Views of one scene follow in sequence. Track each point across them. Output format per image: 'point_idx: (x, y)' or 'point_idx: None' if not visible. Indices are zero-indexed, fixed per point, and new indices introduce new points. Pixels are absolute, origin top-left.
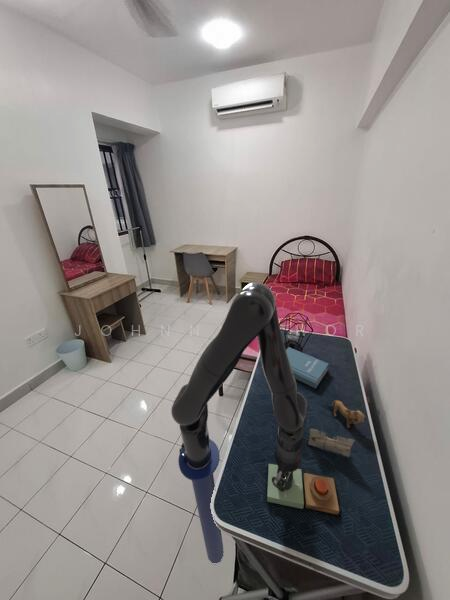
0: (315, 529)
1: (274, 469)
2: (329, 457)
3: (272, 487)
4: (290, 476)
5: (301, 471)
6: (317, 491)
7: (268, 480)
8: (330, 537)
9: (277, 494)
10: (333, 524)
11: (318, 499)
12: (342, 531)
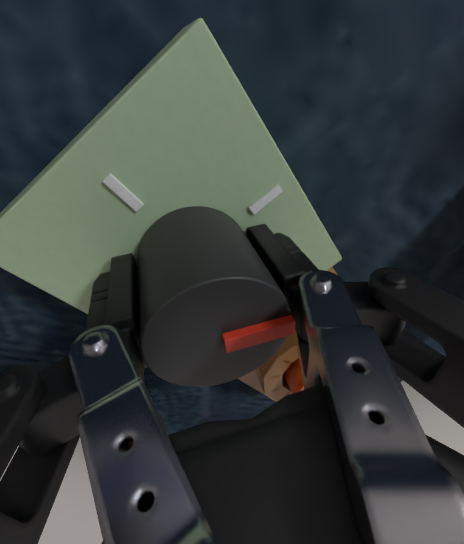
0: (168, 382)
1: (203, 123)
2: (454, 257)
3: (68, 226)
4: (239, 364)
5: (331, 266)
6: (287, 375)
7: (68, 157)
8: (192, 405)
9: (76, 282)
10: (232, 389)
11: (260, 382)
12: (236, 404)
